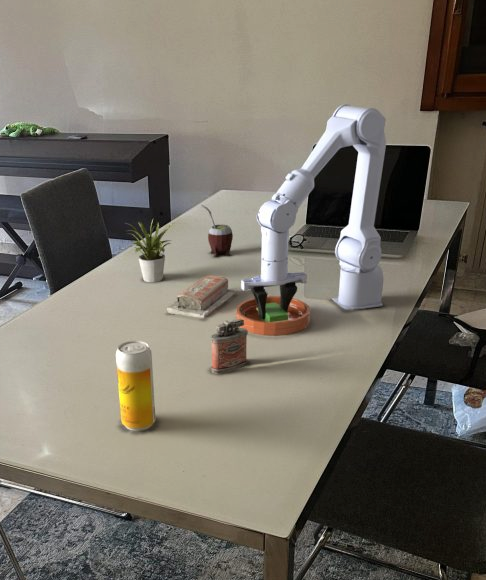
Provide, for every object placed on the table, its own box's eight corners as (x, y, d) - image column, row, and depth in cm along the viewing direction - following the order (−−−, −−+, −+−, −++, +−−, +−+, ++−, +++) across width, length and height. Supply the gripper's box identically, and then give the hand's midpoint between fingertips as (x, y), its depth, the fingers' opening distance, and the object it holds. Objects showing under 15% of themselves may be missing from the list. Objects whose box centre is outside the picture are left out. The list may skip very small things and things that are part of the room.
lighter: (216, 375, 146) (216, 329, 141) (207, 369, 149) (207, 323, 144) (250, 365, 149) (251, 319, 144) (241, 359, 152) (241, 314, 147)
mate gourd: (236, 252, 215) (236, 200, 208) (224, 259, 209) (224, 206, 202) (214, 249, 219) (213, 198, 211) (201, 256, 213) (200, 204, 206)
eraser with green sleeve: (273, 311, 172) (274, 300, 171) (290, 328, 163) (290, 316, 162) (255, 314, 171) (256, 302, 170) (271, 330, 163) (271, 318, 161)
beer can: (120, 417, 134) (114, 341, 127) (154, 414, 134) (149, 338, 127) (122, 433, 129) (116, 356, 121) (157, 430, 129) (152, 352, 122)
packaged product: (200, 271, 187) (236, 276, 182) (200, 289, 189) (236, 295, 185) (165, 295, 174) (203, 300, 169) (166, 314, 176) (204, 320, 172)
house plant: (113, 286, 196) (108, 224, 188) (133, 269, 207) (129, 211, 199) (163, 290, 191) (160, 227, 183) (181, 273, 202) (179, 213, 194)
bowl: (293, 306, 176) (294, 292, 174) (320, 332, 162) (321, 317, 160) (227, 315, 174) (227, 301, 172) (249, 342, 159) (249, 327, 158)
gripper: (299, 248, 164) (296, 306, 171) (237, 256, 162) (236, 314, 169) (311, 258, 158) (308, 317, 165) (247, 266, 156) (246, 325, 163)
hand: (272, 316), depth 167 cm, fingers closed on eraser with green sleeve, 4 cm apart
